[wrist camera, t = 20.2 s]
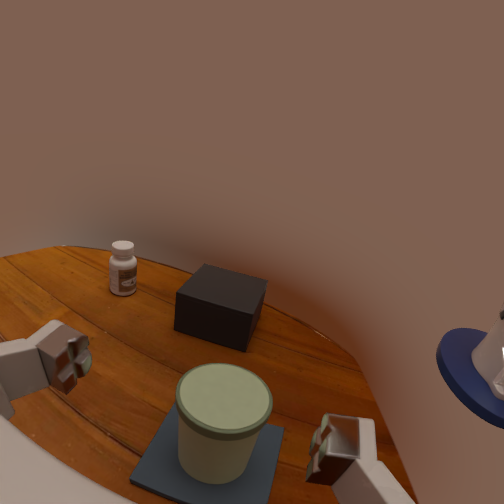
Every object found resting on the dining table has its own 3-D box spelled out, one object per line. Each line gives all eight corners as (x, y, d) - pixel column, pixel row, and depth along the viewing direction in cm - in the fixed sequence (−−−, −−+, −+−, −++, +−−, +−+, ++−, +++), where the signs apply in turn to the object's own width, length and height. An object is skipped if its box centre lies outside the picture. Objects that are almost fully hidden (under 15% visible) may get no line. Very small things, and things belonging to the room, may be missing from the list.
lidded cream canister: (265, 461, 22) (292, 401, 19) (207, 499, 18) (219, 449, 14) (217, 418, 26) (229, 351, 23) (160, 446, 22) (157, 380, 18)
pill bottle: (124, 299, 43) (123, 253, 40) (104, 289, 44) (103, 244, 42) (141, 289, 47) (143, 244, 44) (122, 280, 48) (122, 237, 46)
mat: (282, 433, 27) (284, 427, 26) (259, 526, 17) (262, 523, 16) (178, 401, 28) (178, 395, 28) (130, 482, 18) (128, 478, 18)
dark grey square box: (260, 314, 47) (268, 280, 45) (245, 352, 38) (253, 314, 36) (200, 297, 49) (204, 263, 47) (173, 329, 39) (176, 291, 37)
